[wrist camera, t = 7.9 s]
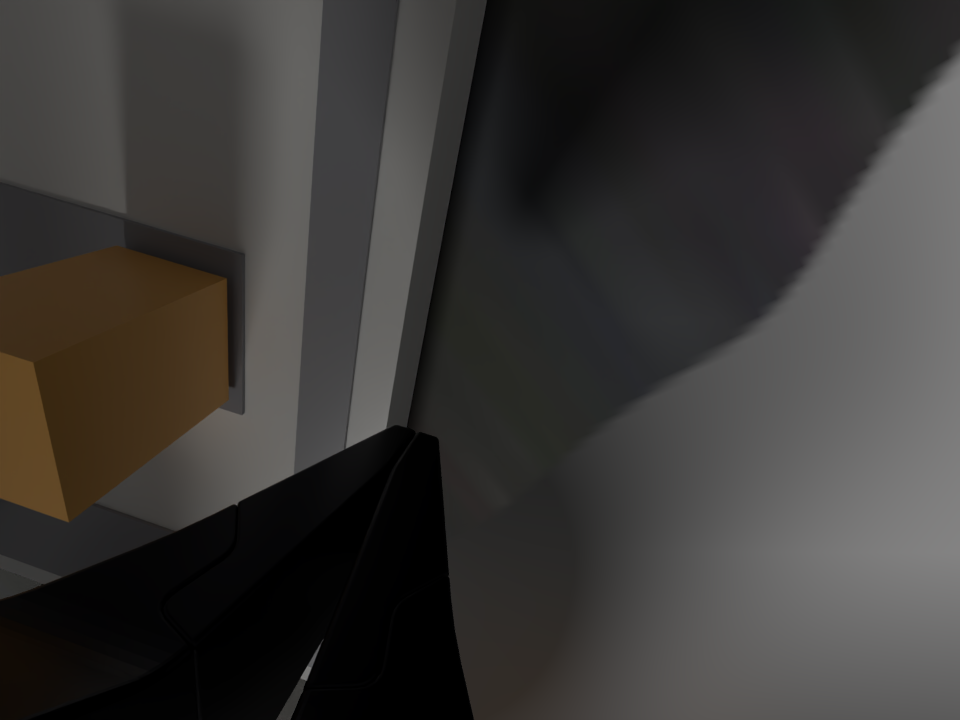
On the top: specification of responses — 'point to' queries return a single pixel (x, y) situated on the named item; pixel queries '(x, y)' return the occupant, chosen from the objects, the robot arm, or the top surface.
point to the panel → (239, 217)
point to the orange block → (103, 371)
